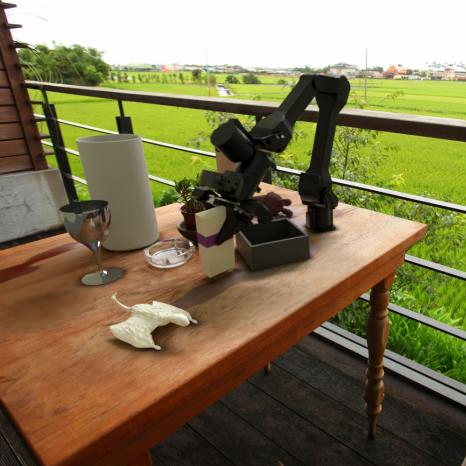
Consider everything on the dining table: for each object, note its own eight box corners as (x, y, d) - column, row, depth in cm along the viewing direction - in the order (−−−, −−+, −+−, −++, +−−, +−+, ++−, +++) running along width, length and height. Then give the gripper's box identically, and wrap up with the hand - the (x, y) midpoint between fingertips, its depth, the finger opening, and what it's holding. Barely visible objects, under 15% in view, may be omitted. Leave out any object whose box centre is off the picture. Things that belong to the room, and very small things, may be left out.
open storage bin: (288, 238, 98) (287, 217, 96) (309, 257, 88) (309, 235, 86) (236, 248, 92) (234, 226, 90) (252, 270, 82) (250, 247, 80)
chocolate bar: (201, 271, 78) (194, 213, 72) (226, 260, 83) (222, 205, 77) (210, 278, 77) (204, 219, 71) (235, 266, 81) (232, 210, 75)
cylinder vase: (101, 256, 87) (72, 144, 78) (103, 237, 97) (78, 135, 88) (162, 246, 93) (142, 140, 83) (158, 229, 103) (140, 132, 94)
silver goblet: (127, 265, 83) (112, 198, 78) (121, 282, 77) (104, 210, 71) (84, 270, 81) (65, 202, 75) (74, 289, 74) (53, 214, 68)
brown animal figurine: (240, 193, 112) (283, 205, 107) (255, 182, 117) (297, 192, 112) (244, 213, 116) (286, 225, 111) (259, 201, 122) (300, 212, 116)
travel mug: (240, 201, 126) (234, 139, 119) (251, 207, 121) (245, 142, 113) (217, 205, 122) (209, 141, 114) (227, 212, 116) (220, 144, 109)
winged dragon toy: (83, 328, 63) (76, 306, 61) (138, 298, 71) (133, 278, 70) (164, 360, 56) (159, 336, 54) (214, 322, 64) (211, 301, 63)
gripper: (191, 147, 78) (149, 214, 74) (257, 158, 69) (213, 235, 64) (227, 177, 87) (191, 238, 83) (289, 191, 78) (253, 260, 73)
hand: (210, 242), depth 75 cm, fingers closed on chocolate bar, 3 cm apart
